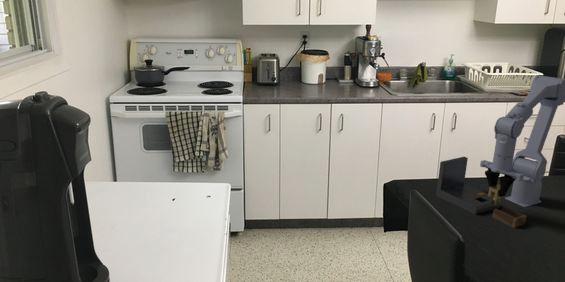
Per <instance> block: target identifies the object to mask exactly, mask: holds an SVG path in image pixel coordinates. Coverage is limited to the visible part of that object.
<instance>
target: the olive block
mask: <svg viewBox="0 0 565 282" xmlns="http://www.w3.org/2000/svg"><path fill="white" fill-rule="evenodd" d="M499 192H500V183H497V185H494V186H490V187H489V186H488V193H487V194H488V196H490V197H491V196H493V199H492V204H493V205H496V206H498V205H499V201H500V202H501V199H503V198H506V197H507V196H506V195H507V194H506V195H505V196H503V197H500V196H499Z"/></svg>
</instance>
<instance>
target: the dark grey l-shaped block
mask: <svg viewBox="0 0 565 282" xmlns="http://www.w3.org/2000/svg"><path fill="white" fill-rule="evenodd" d="M468 158H469V157H466V156H461V157H457V158H456V157H455V158H451V159H447V160H441V161H440V163H439V169H438V170H439V171H438V178H437V179H438V180H437V186H436V187H437V188H436V193H435V195H436V197H438V198H440V199H442V200H443V201H447V202H449V203H450V204H452V205H455V206H457V207H459V208H460V209H462V210H465V211H467V212H469V213H471V214H473V215H478V214H482V213H485V212H488V211H492V210H494V209H499V208H500V207H501V206H500V205H501V200H500V201H499V205H498V206H496V205H493V204H492V199H493V196H491V197H490V196H488V193H486V192H484V191H482V190H480V189H477V188H475V187H472V186H471V185H468V184H466V183H465V180H466V179H465V178H466V174H467V172H466V171H467V167H468Z"/></svg>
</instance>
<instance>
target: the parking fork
mask: <svg viewBox="0 0 565 282" xmlns="http://www.w3.org/2000/svg"><path fill="white" fill-rule="evenodd" d="M492 210H493V211H492V217H491V218H493V219H495V220H497V221H498V222H501V223H503V224H505V225H507V226H510V227H511V228H513V229H514V228H518V227H521V226H524V225H526V221H527V215H525V214H523V213H522V212H521V213H520V212H519V211H517V210H514V209H512V208H509V207H508V206H501V210H500V209H499V208H495V209H492Z"/></svg>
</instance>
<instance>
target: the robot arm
mask: <svg viewBox="0 0 565 282" xmlns="http://www.w3.org/2000/svg"><path fill="white" fill-rule="evenodd" d="M530 85H531V86H530V91H529V93H528V94H527V95H526V97H525V98H524V100H523V101H520V102H517V103H515V105H514V106H513V107H512V108H511V109H510V110H509V112H507V114H506V115H505V116H501V117H499V118H498V119H496V121H495V125H494V127H493V128H494V130H493V131H494V138H495V145H494V146H495V147H494V151H493V158H492V161H488V160H480V165H479V167H480V168H485V169H487V170H485V171H484V175H485V177H486V180H487V183H488V188H489V187H490V186H494V185H497V184H498V181H499V182H500V183H499V185H500V192H499V196H500V197H503V196H505V195H507V193H508V191H509V189H510V187H512V188H511V193H510V194H511V195H510V196H505V197H503V198H504V199H505V200H507V201H510V202H512V203H514V204H516V205H519V206H521V207H523V208H527V207H530V206H533V205H537V204H541V203H542V200H540V197H541V191H542V187H543V183H542V182H543V181H542V179H543V178H544V177H545V174H546V172H547V171H546V170H547V164H548V160H547V158H546V157H545V155H544V154H543V153H542V151H543V148H544V145H545V143H546V139H547V138H548V135H549V131H550V129H551V126H552V123H553V120H554V118H555V115H556V112H557V110H558V107H559V106H563V105H564V103H565V78H559V77H553V76H546V75H542V74H537V75H535V77H533V79H532V81H531V84H530ZM539 103H540V107H539V110H538V112H537V116H536V119H535V121H534V123H533V127H532V130H531V131H530V132H531V133H530V134H529V138H528V140H527V143H526V146H525V148H524V149H522V150H519V151H517V152H516V146H517V145H516V144H517V139H518V138H519V137H520V136H521V134H522V132H523V129H524V127H525V124H526V122H527V121H528V120H529V119H530V118H531V117H532V116H533V114H534V108H535V107H536V106H537V105H538V104H539ZM515 152H516V153H515ZM500 175H503V176H500Z"/></svg>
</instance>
